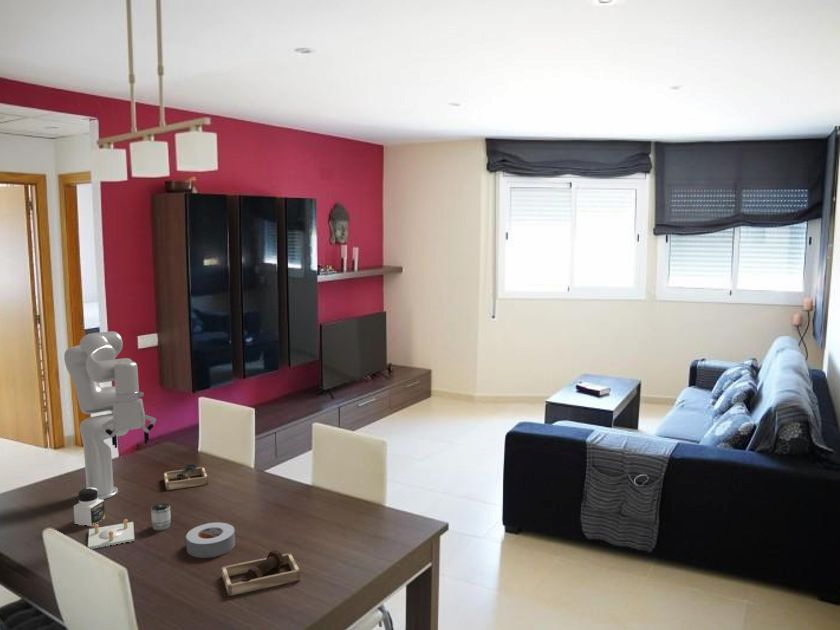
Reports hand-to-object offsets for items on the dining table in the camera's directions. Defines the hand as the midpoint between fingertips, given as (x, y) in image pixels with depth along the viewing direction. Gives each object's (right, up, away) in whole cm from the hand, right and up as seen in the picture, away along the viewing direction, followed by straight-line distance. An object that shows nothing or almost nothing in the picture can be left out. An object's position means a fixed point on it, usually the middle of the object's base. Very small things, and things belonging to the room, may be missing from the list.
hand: (131, 445), depth 230 cm
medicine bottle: (-17, -29, +6) cm, 34 cm away
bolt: (+53, -34, -32) cm, 71 cm away
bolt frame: (+53, -34, -32) cm, 71 cm away
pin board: (-4, -30, -6) cm, 31 cm away
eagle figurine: (+4, -24, +44) cm, 50 cm away
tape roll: (+32, -32, -12) cm, 46 cm away
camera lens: (+10, -30, +2) cm, 31 cm away
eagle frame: (+4, -24, +43) cm, 49 cm away
